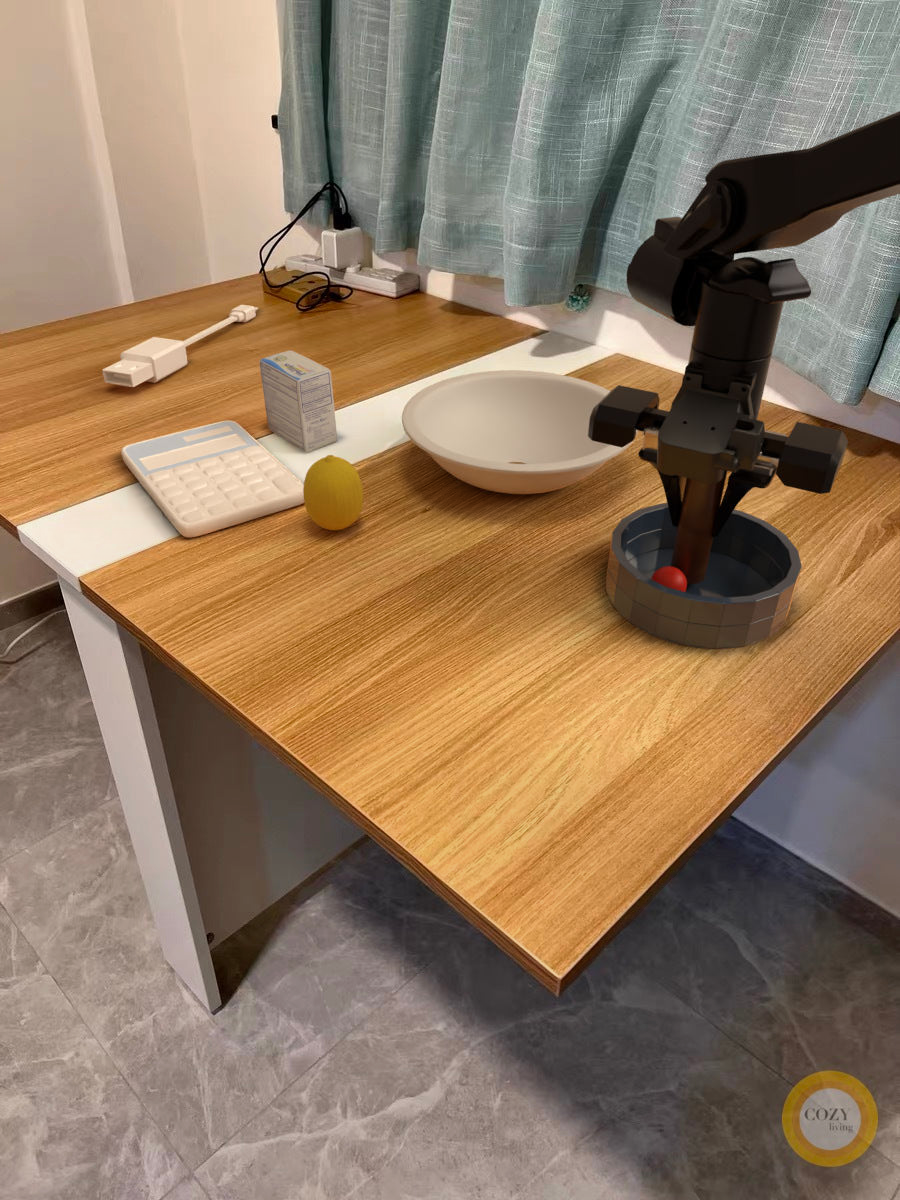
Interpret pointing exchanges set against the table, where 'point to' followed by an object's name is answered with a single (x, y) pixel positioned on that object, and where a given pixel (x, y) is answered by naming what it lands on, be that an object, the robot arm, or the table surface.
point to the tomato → (670, 578)
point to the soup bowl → (510, 429)
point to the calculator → (212, 477)
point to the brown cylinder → (696, 528)
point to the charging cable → (163, 354)
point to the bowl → (704, 581)
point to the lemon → (333, 493)
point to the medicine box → (299, 400)
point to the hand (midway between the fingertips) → (695, 529)
